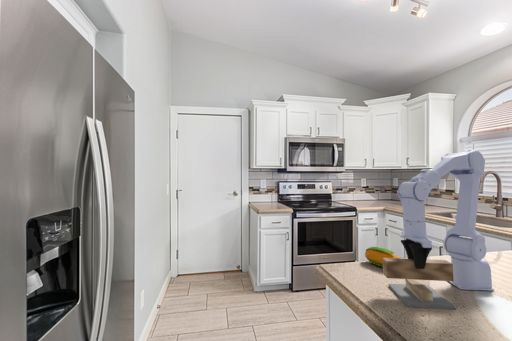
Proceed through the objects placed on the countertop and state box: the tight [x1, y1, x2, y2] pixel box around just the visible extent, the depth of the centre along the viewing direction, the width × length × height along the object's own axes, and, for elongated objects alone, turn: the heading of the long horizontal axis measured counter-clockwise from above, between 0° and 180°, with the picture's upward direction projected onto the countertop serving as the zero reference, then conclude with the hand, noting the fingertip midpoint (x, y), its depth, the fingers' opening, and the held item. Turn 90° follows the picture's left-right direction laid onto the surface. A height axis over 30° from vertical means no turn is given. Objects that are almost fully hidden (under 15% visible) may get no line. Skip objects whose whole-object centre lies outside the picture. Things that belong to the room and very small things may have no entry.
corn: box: [364, 246, 400, 268], centre depth 101 cm, size 7×8×20 cm
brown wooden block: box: [382, 257, 454, 282], centre depth 75 cm, size 18×4×5 cm, turn 81°
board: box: [388, 283, 457, 310], centre depth 75 cm, size 12×14×1 cm
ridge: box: [404, 279, 433, 302], centre depth 75 cm, size 3×10×4 cm, turn 171°
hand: (416, 266), depth 75 cm, fingers closed on brown wooden block, 3 cm apart
